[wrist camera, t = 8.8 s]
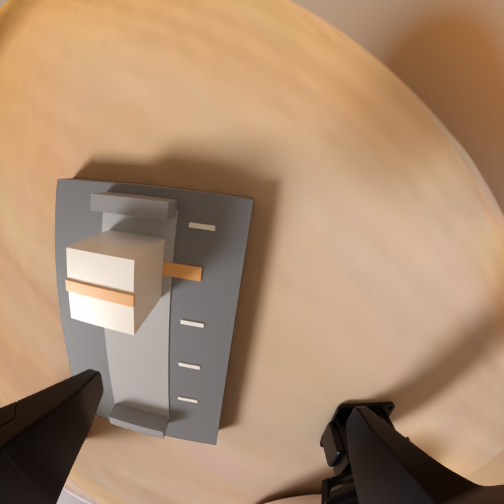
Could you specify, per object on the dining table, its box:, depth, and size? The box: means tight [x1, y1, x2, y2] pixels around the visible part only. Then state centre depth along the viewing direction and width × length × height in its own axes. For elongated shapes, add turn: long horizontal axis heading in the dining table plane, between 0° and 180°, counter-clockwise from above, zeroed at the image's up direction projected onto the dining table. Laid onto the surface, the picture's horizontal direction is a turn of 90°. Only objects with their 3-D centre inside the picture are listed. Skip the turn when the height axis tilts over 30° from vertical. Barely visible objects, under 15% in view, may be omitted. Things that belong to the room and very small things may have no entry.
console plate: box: [55, 178, 254, 445], centre depth 19 cm, size 14×22×4 cm, turn 171°
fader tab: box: [65, 230, 165, 335], centre depth 15 cm, size 4×4×5 cm
